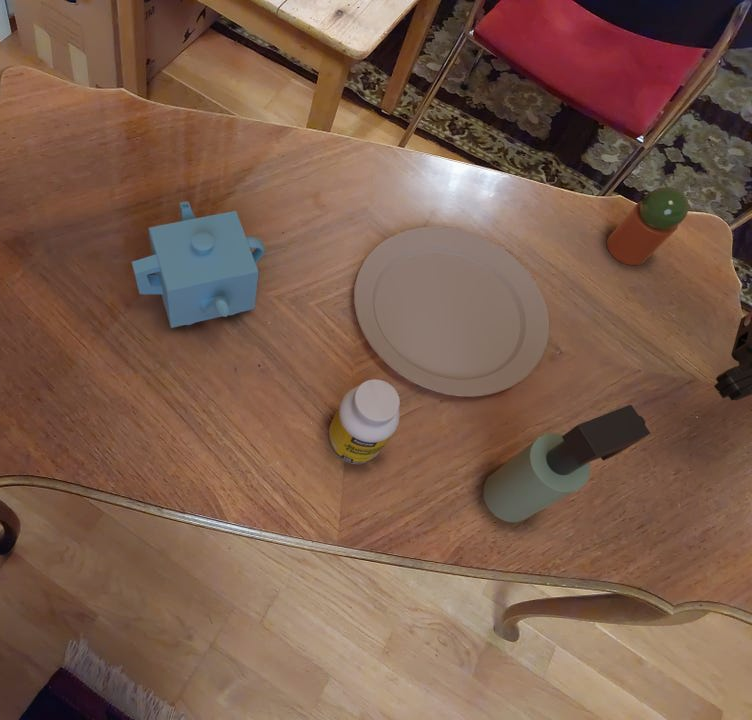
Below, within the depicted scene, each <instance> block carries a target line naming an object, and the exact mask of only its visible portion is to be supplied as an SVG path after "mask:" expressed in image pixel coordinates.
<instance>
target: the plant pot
mask: <svg viewBox="0 0 752 720" xmlns="http://www.w3.org/2000/svg"><path fill="white" fill-rule="evenodd" d="M689 205H690V204H689V201H688V198H687V196H686V194H684V192H682V191H681V190H679V189H677V188H675V187H670V186H663V187H659V188H655V189H654V190H652V191H650V192H648V193H647V194H646V195H645V196H644V197H643V199H642V200H640V201H639V202H637V203H636V204H635V205H634V207H633V208H632V209H631V210H630V211H629V212H628V213H627V215H626V216H625V217H624V218H623V219H622V220H621V221H620V223H619V224H618V225H617V226H616V227H615V229H614V230H613V231H612V232H611V233H610V234H609V236H607V239H606V248H607V250H608V252H609V254H610V255H611V256H612V257H613V258H614V259H615V260H617V261H619V262H620V263H621V264H625V265H628V266H639V265H641V264H644V263H645V262H646V261H647V260H648V259H649V258H651V256H652V255H653V254H654V253H655V252H656V251H657V250H658V249H659V248H660V247H661V246H662V245H663V244H664V243H665V242H666V241H667V240H668V239H669V238H670V237H671V236H672V235H673V234H674V233H675V232H676V231H677V230H678V228H679V225H681V223H683V222H684V220H685V219H686V218H687V216H688V213H689V207H690V206H689Z"/></svg>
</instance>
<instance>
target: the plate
mask: <svg viewBox="0 0 752 720" xmlns="http://www.w3.org/2000/svg"><path fill="white" fill-rule="evenodd" d="M353 306H354V310H355V311H354V312H355V315H356V318H357V322H358V324H359V327H360V329H361V333H362V334H363V336H364V338H365V339H366V341H367V343H368V345H369V346H370V347H371V348H372V350H373V351H374V352H375V353H376V355H377V356H378V357H379V358H380V359H381V360H382V361H383V363H385V364H386V365H387V366H388V367H389V368H391V369H392V370H393V371H395V372H396V373H397V374H398V375H399V376H402V377H403V378H405V379H407V380H408V381H409V382H412V383H414V384H416V385H417V386H420V387H422V388H423V389H424V388H425V389H428V390H430V391H433V392H436V393H440V394H444V395H449V396H456V397H481V396H482V397H483V396H488V395H489V396H490V395H494V394H496V393H500V392H502V391H503V392H504V391H505V390H508V389H511V388H512V387H514V386H515V385H517V384H519V383H521V382H522V381H523V380H524V379H526V378H527V377H528V376H529V375H530V374H531V373H532V372H533V371H534V370H535V369H536V367H537V365H539V363H540V361H541V360H542V358H543V355H544V354H545V351H546V348H547V345H548V341H549V333H550V318H549V313H548V307H547V304H546V301H545V298H544V295H543V293H542V291H541V288H540V287H539V285H538V283H537V282H536V280H535V279H534V277H533V275H531V273H530V272H529V271H528V269H527V268H526V267H525V266H524V265H523V264H522V263H521V262H520V261H519V260H518V259H517V258H516V257H514V256H513V254H511V252H509V251H507V250H506V249H504V248H503V247H502V246H501V245H499V244H497V243H495V242H494V241H491V240H489V239H487V238H485V237H484V236H481V235H479V234H476V233H473V232H470V231H467V230H463V229H458V228H453V227H447V226H423V227H422V226H421V227H416V228H411V229H407V230H404V231H400V232H399V233H396V234H394V235H392V236H390V237H388V238H387V239H385V240H383V241H381V243H379V244H377V246H375V247H374V248H373V249H372V250H371V251H370V253H369V254H368V255H367V256H366V257H365V259H364V261H363V262H362V263H361V266H360V268H359V270H358V272H357V275H356V278H355V281H354V290H353Z"/></svg>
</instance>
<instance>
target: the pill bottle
mask: <svg viewBox="0 0 752 720" xmlns="http://www.w3.org/2000/svg"><path fill="white" fill-rule="evenodd" d="M400 405H401V400H400V395H399V393H398V391H397V390H396V389H395V387H394V386H392V385H391V383H389V382H387V381H385V380H382V379H378V378H377V379H376V378H374V379H368V380H365V381H364V382H362V383H361V384H359V385H358V386H356V387H353V388H351V389H350V390H349V391H347V392H346V393H345V395H344V396H343V398H341V401H340V403H339V406H338V407H337V410H336V412H335V414H334V416H333V418H332V421H331V423H330V425H329V427H328V432H327V440H328V444H329V447H330V449H331V450H332V452H333V454H335V455H336V457H338V458H339V459H340V460H341V461H343V462H346V463H348V464H352V465H362V464H367V463H369V462H371V461H372V460H374V459H375V458H376V457H378V455H379V454H380V453H381V451H382V450H383V449H384V447H385V446H386V444H387V443H388V442H389V441H390V439H391V437H392V436H393V434H394V433H395V432H396V431H397V428H398V427H399V424H400V419H401V418H400V416H401V415H400V414H401V413H400Z"/></svg>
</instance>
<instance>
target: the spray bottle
mask: <svg viewBox="0 0 752 720" xmlns="http://www.w3.org/2000/svg"><path fill="white" fill-rule="evenodd" d="M649 435H651V431H650V430H649V428H648V427H647V426H646V420H645V418H644V417H643V416H641V415H639V413H638V412H637V411H636V409H635V408H634V406H633V405H632V404H628V405H626V406H623V407H620V408H618V409H615V410H612V411H610V412H608V413H604V414H603V415H600V416H598V417H595V418H592V419H589V420H587V421H584V422H581V423H579V424H577V425H575V426H574V427H573V428H571V429H570V430H569V431H567V432H566V433H564V434H562V433H557V432H549V433H545V434H542V435H540V436H539V437H537V438H536V439H535V440H533V441H532V442H531V443H530V444H528V445H527V446H526V447H525V448H523V449H522V450H520V451H519V452H518V453H517V454H516V455H514V456H513V457H512V458H511V459H510V460H508V461H507V462H505V463H504V464H503V465H502V466H500V467H498V469H497V470H495V471H494V472H493V473H491V474H490V475H489V476H488V477H487V478H486V479H485V482H484V483H483V488H482V497H483V501H484V503H485V505H486V507H487V509H488V510H489V511H490V513H491V514H492V515H494V517H496V518H498V519H499V520H501V521H504V522H507V523H520V522H523V521H524V520H526V519H528V518H530V517H532V516H534V515H535V514H538V513H539V512H541V511H542V510H545V509H546V508H548V507H550V506H552V505H553V504H555V503H557V502H558V501H560V500H562V499H564V498H566V497H567V496H570V495H571V494H573V493H575V492H576V491H578V490H580V489H582V488H583V487H584V486H585V485H586V484H587V482H588V480H589V478H590V474H591V464H590V463H591V462H593V461H596V460H598V459H602V458H601V457H603V456H606V455H608V454H611V453H613V452H615V451H618V450H620V449H623V448H625V447H628V446H630V445H632V444H633V445H635V444H637V443H638V442H640V441H641V440H642V439H644V438H646V437H648V436H649ZM639 440H640V441H639ZM637 441H638V442H637ZM636 442H637V443H636ZM634 443H635V444H634ZM633 445H632V446H633ZM630 447H631V446H630ZM628 448H629V447H628Z"/></svg>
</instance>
